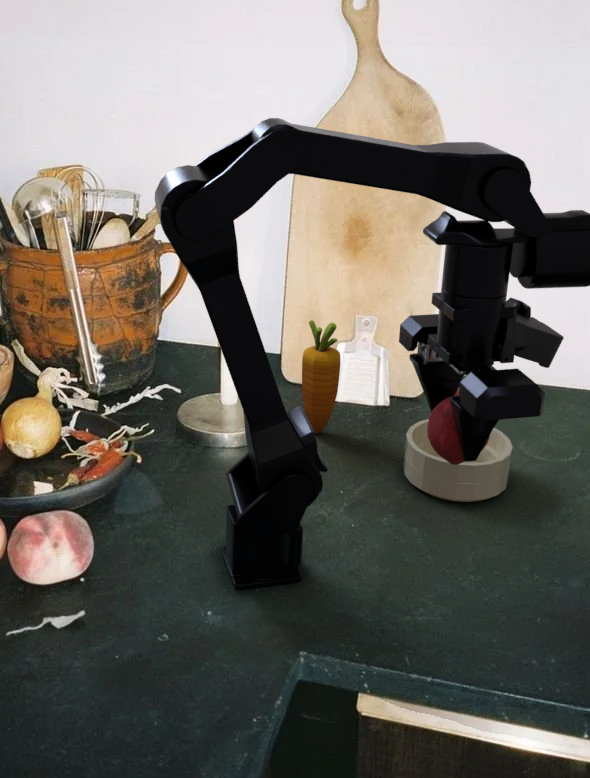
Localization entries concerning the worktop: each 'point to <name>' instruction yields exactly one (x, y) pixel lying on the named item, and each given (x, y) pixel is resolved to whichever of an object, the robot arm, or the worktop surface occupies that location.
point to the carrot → (320, 377)
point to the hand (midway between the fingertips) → (456, 445)
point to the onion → (445, 433)
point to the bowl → (457, 468)
